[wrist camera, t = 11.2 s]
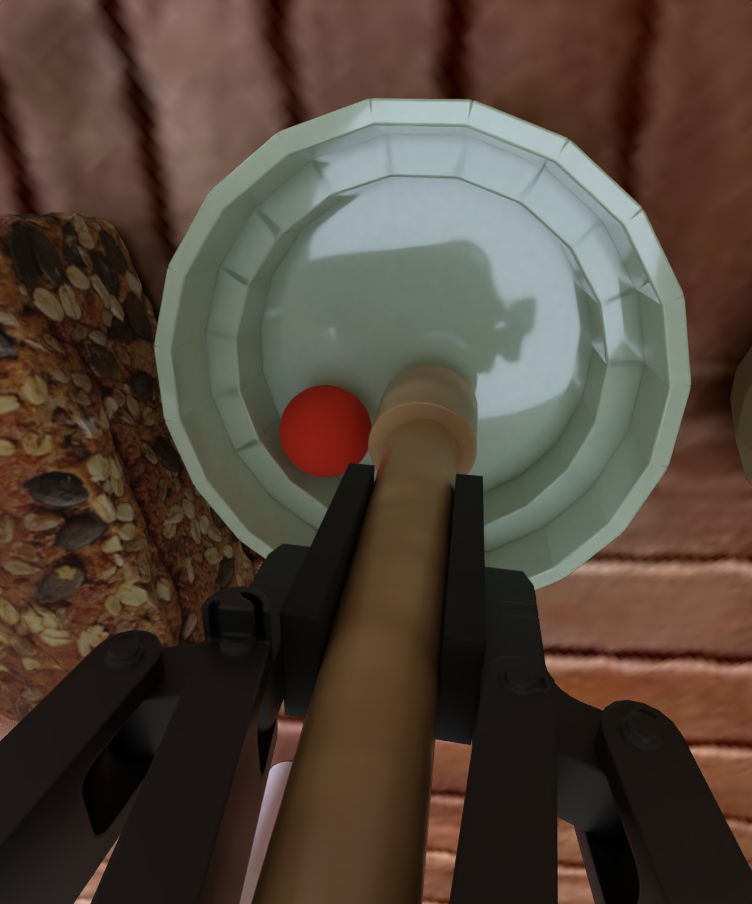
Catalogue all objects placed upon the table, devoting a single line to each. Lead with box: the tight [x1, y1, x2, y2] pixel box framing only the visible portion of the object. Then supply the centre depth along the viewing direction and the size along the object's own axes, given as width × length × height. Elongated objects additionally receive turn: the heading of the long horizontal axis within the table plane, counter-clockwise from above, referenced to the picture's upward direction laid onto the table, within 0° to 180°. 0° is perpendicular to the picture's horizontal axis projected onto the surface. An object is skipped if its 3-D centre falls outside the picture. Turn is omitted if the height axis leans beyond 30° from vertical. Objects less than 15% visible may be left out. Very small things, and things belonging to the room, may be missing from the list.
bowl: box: [154, 98, 691, 590], centre depth 20 cm, size 16×16×6 cm
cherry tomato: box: [279, 385, 372, 477], centre depth 22 cm, size 4×4×4 cm
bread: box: [0, 212, 254, 722], centre depth 22 cm, size 19×11×10 cm, turn 14°
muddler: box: [251, 365, 478, 904], centre depth 13 cm, size 4×4×20 cm
